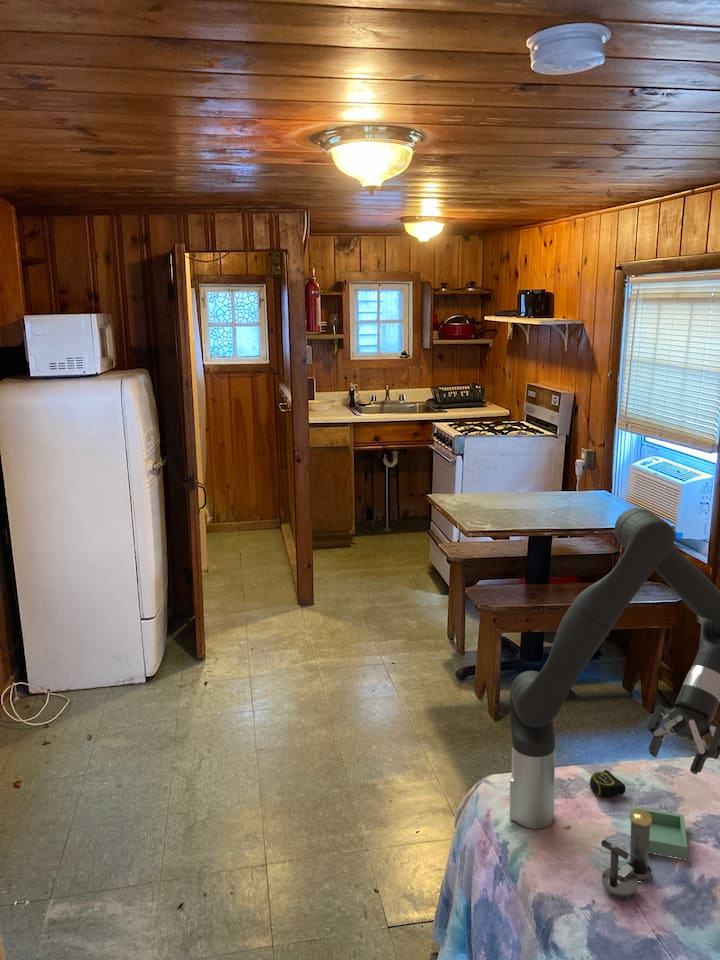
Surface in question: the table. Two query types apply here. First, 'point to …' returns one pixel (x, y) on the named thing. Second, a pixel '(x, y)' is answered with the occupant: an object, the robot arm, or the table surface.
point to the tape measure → (606, 785)
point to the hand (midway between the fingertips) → (672, 763)
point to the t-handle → (618, 874)
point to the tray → (667, 834)
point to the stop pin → (640, 844)
